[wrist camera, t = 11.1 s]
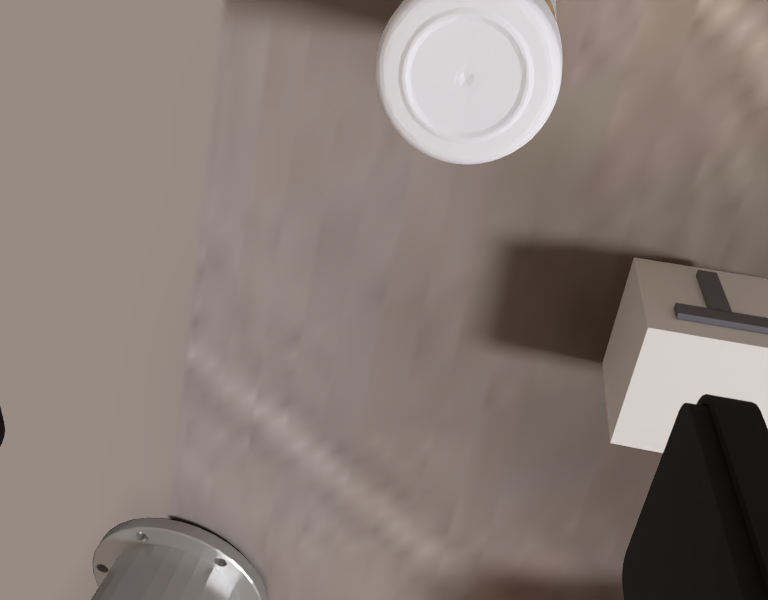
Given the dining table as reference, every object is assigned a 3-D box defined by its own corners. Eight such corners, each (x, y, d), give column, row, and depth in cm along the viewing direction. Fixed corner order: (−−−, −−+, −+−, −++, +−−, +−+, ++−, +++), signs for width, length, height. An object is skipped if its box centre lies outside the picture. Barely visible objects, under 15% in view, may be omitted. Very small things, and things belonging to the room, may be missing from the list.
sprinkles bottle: (419, 9, 30) (338, 107, 18) (482, -101, 27) (433, -68, 16) (514, 71, 30) (490, 202, 19) (583, -32, 28) (605, 47, 17)
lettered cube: (727, 384, 36) (755, 470, 31) (602, 362, 37) (610, 442, 32) (773, 272, 33) (814, 348, 28) (635, 250, 33) (650, 321, 28)
